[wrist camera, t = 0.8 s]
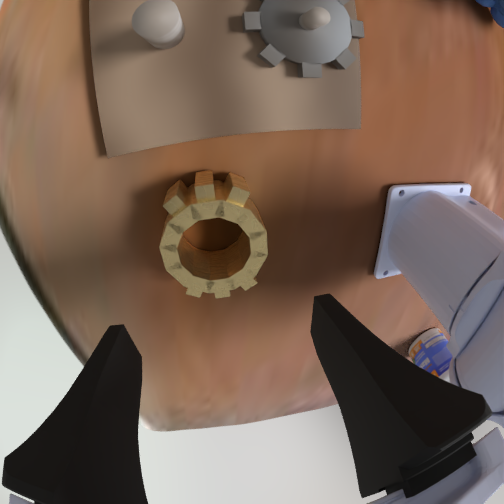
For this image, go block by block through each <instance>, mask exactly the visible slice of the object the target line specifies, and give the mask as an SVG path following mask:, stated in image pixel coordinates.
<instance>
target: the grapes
mask: <svg viewBox="0 0 504 504" xmlns="http://www.w3.org/2000/svg"><path fill="white" fill-rule="evenodd" d="M475 1H476V2H478V3H479V4H481V5H482V6H485V7H489V8H490V7H491V10H490V12H491V15H492V17H493V19H494V20H495V21H496V23H497V24H498V25H500V26H501V27H502V28H504V0H475Z"/></svg>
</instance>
